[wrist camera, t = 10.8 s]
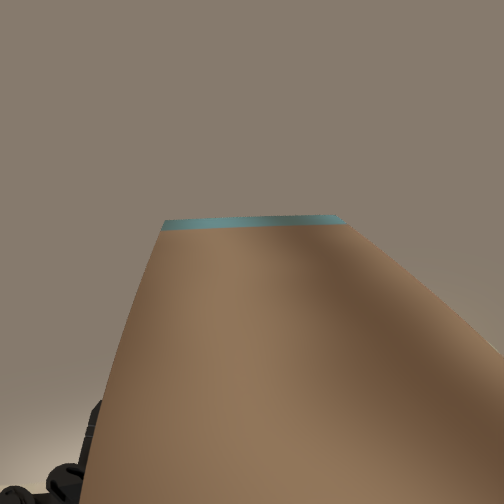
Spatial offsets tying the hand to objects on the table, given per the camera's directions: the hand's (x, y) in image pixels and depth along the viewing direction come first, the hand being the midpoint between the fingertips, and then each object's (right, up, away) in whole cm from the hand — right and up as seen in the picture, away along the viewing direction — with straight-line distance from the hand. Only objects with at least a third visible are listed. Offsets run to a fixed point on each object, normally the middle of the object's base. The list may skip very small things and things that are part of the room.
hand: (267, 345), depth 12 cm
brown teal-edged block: (0, -7, 0) cm, 7 cm away
